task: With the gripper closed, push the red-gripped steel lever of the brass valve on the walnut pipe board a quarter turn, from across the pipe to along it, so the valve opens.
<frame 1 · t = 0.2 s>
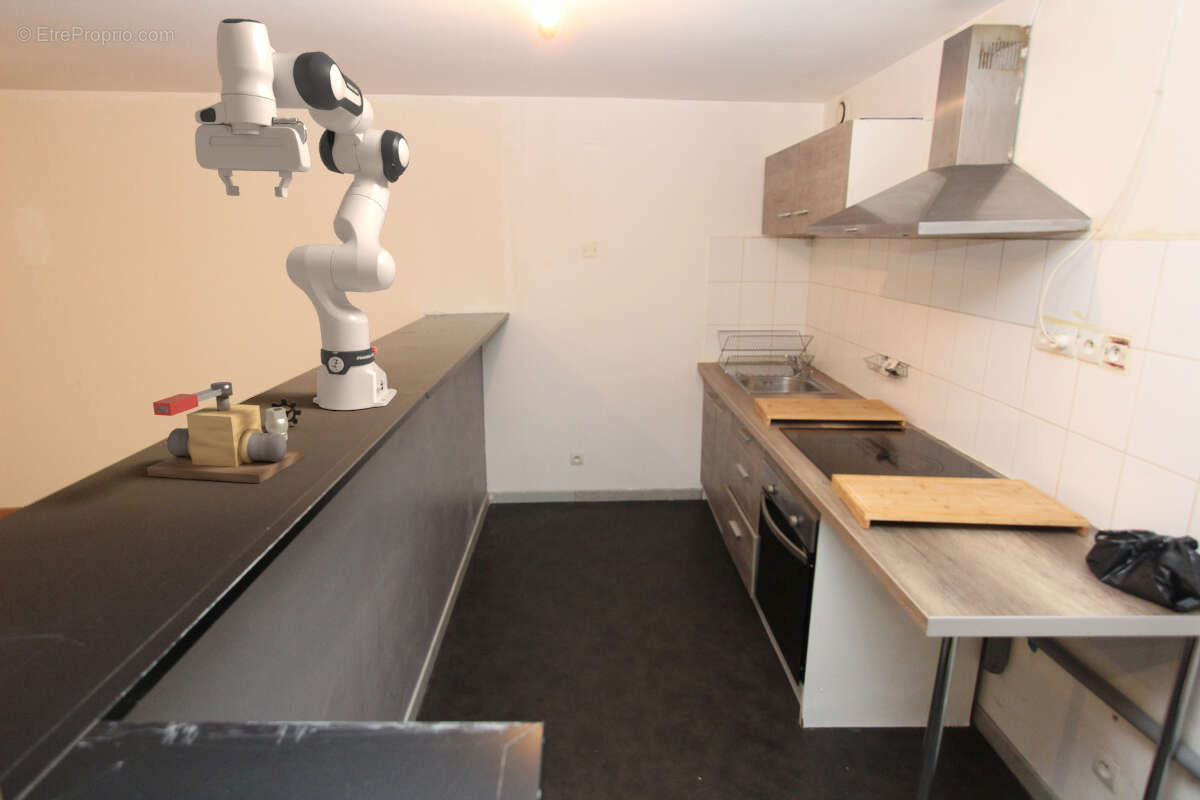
hand: (257, 196, 120), 48 cm above the table, fingers open, 8 cm apart
valve: (281, 435, 135), on the table
valve lever: (197, 397, 106), point 14 cm above the table, hinge at 0.0°
valve manifold: (230, 466, 116), on the table
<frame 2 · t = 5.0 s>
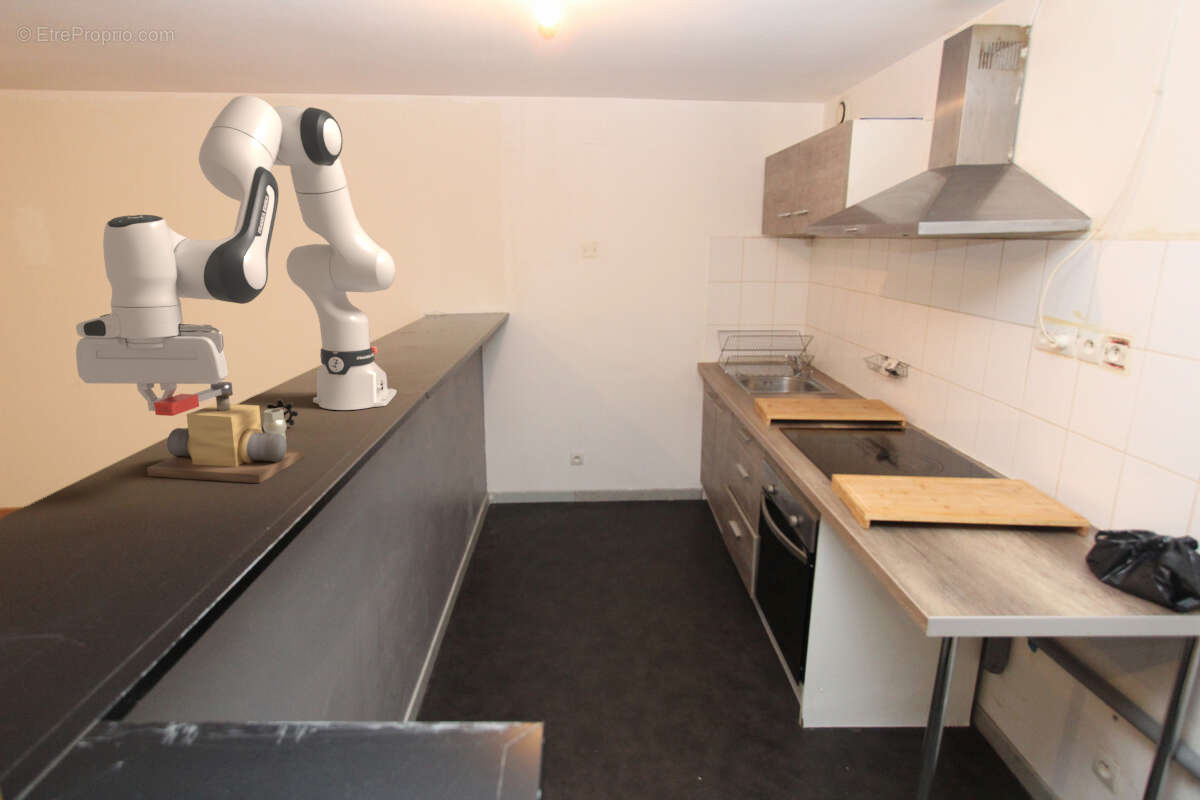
hand: (160, 410, 102), 13 cm above the table, fingers closed
valve: (279, 437, 134), on the table
valve lever: (197, 397, 106), point 14 cm above the table, hinge at 0.8°, touching gripper
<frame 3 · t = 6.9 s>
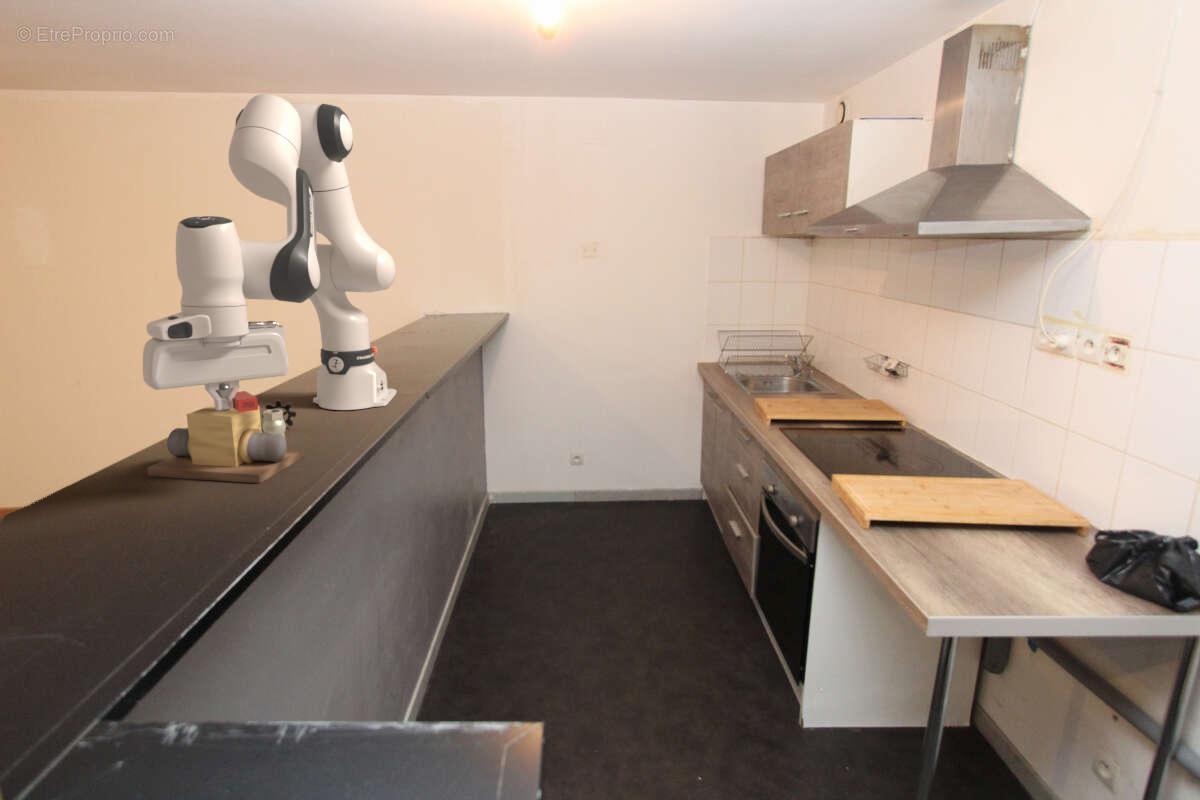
hand: (224, 409, 103), 13 cm above the table, fingers closed
valve lever: (232, 396, 108), point 14 cm above the table, hinge at 49.9°, touching gripper
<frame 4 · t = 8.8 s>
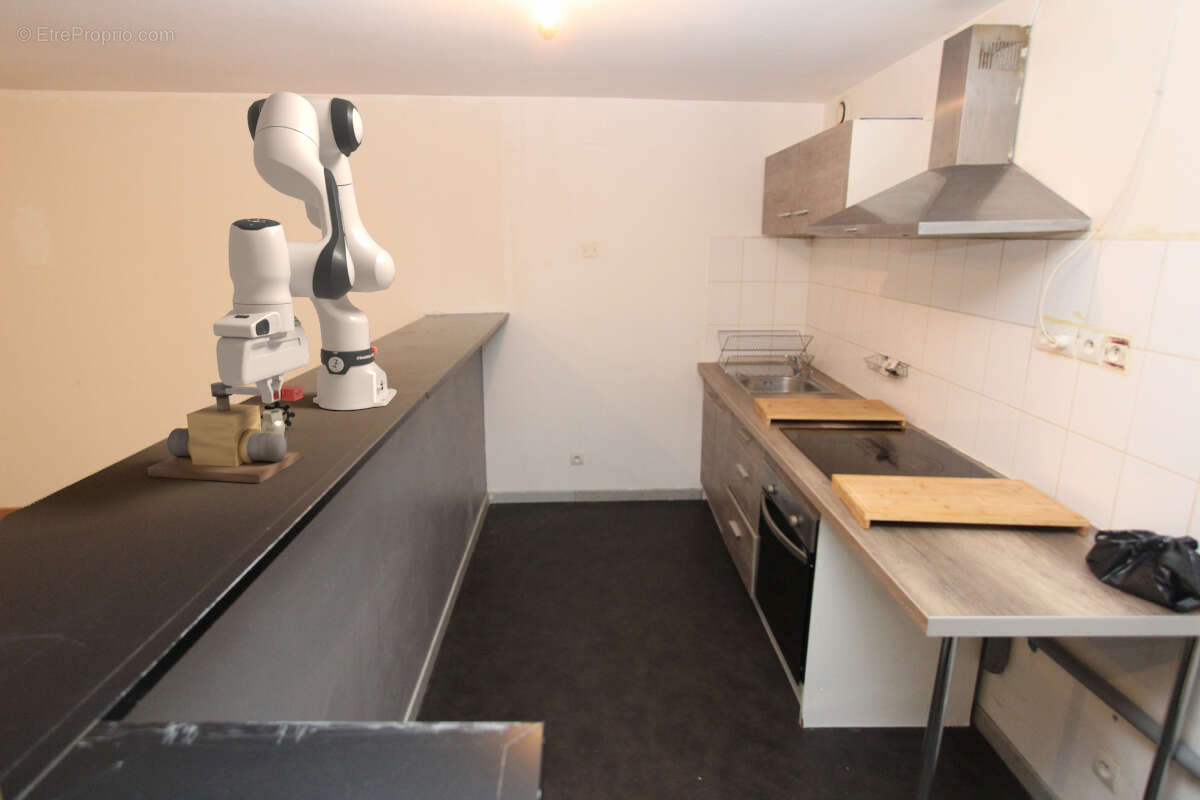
hand: (271, 401, 109), 13 cm above the table, fingers closed
valve lever: (255, 391, 112), point 14 cm above the table, hinge at 89.9°, touching gripper
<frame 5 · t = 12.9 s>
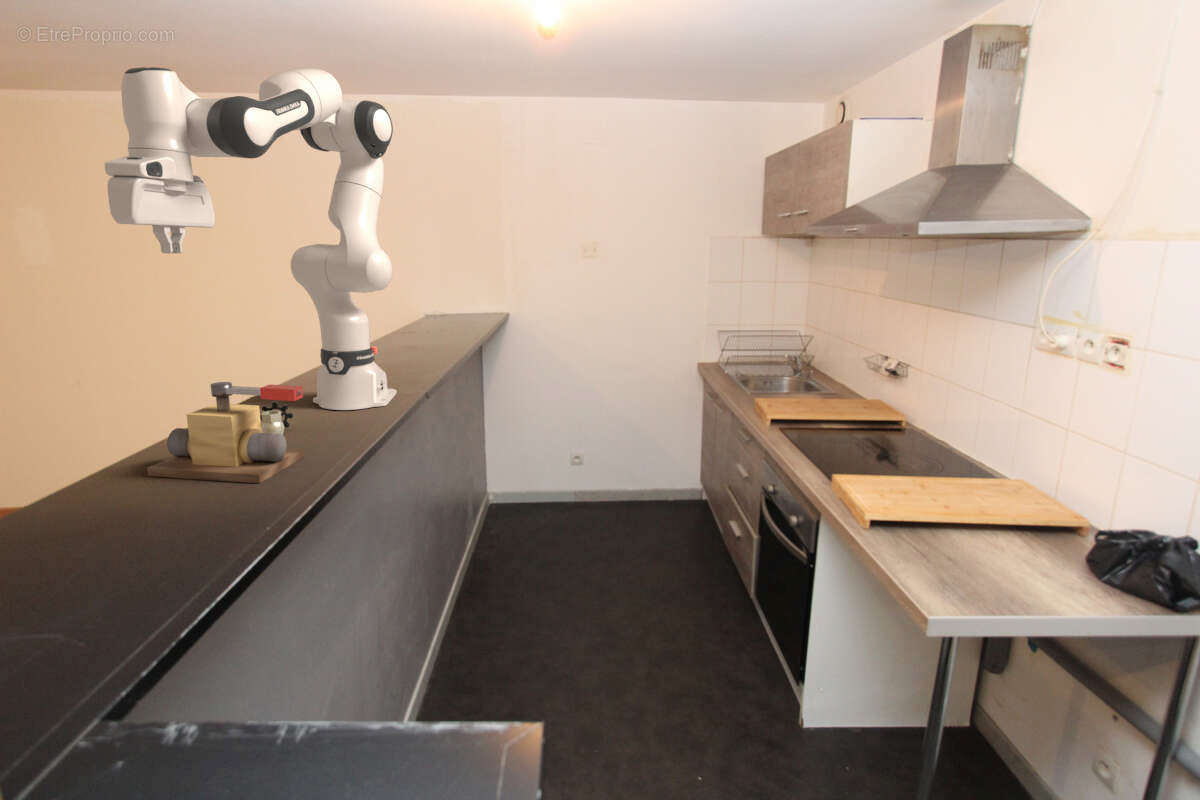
hand: (172, 253, 112), 37 cm above the table, fingers closed
valve lever: (255, 391, 112), point 14 cm above the table, hinge at 90.1°
at the end: valve lever at +90° (first picture: +0°) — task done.
